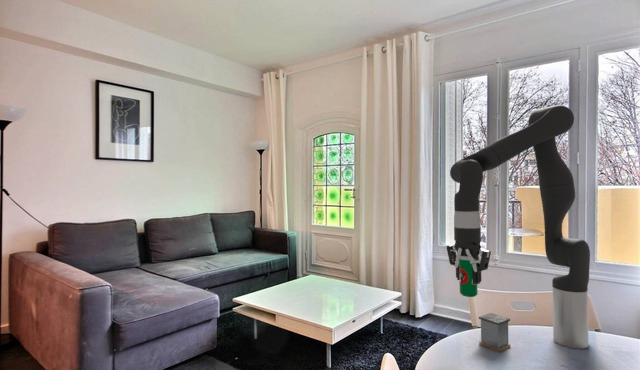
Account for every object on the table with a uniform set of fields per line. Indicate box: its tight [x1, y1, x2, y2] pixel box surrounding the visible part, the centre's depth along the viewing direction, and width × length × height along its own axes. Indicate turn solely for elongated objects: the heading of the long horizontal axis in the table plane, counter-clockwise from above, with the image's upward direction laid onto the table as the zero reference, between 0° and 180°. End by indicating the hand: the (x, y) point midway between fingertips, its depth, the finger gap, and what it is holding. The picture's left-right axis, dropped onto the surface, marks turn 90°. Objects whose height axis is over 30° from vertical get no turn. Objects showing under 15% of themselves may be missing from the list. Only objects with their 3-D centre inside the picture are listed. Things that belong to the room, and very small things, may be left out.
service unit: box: [478, 312, 511, 353], centre depth 113 cm, size 6×6×9 cm
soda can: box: [458, 255, 479, 298], centre depth 109 cm, size 5×5×12 cm
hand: (468, 281), depth 109 cm, fingers closed on soda can, 5 cm apart
